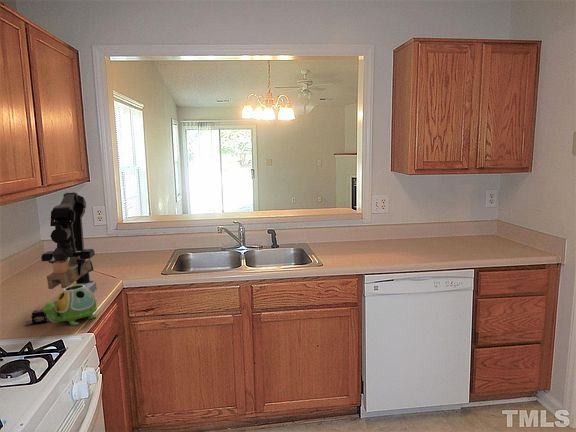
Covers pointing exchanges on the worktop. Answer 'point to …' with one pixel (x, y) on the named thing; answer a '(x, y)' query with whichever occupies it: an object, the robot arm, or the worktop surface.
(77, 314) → the turtle holder
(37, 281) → the worktop surface
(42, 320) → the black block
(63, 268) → the salmon brown cube
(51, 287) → the pallet
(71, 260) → the block
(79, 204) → the robot arm
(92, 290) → the dock
